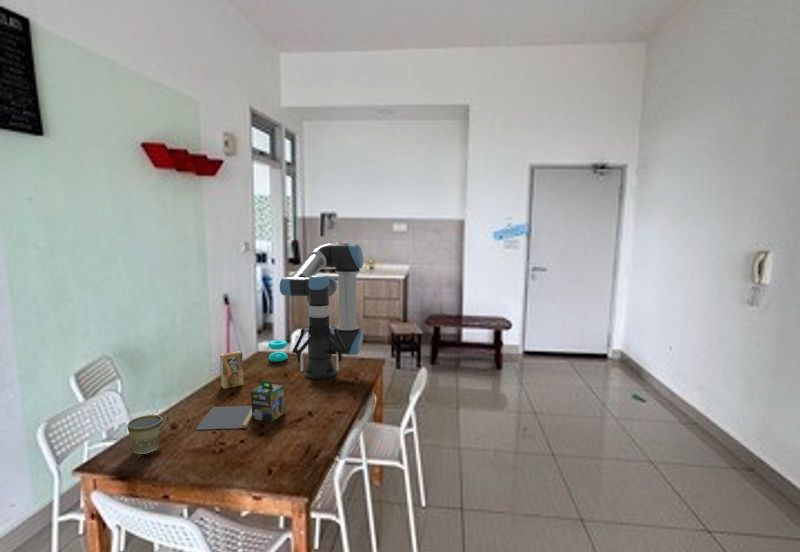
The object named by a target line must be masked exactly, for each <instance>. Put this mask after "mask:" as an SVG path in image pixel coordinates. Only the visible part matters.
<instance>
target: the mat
mask: <svg viewBox="0 0 800 552" xmlns="http://www.w3.org/2000/svg"><path fill="white" fill-rule="evenodd" d="M252 420H253V419H252V405H240V406H239V405H238V406H237V405H236V406H235V405H234V406H233V405H232V406H230V405H229V406H212V408H211V409H210V410H209V412H207V414H206V415H205V416H204V418H203V419H202V420H201V421H200V423H199V424H198V425H197V427H196V428H195V430H196V431H211V430H210V429H223V430H239V428H248V427H249V425H250V423H251V421H252Z"/></svg>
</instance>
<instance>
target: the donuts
mask: <svg viewBox="0 0 800 552" xmlns="http://www.w3.org/2000/svg"><path fill="white" fill-rule="evenodd" d="M267 345H268V348H269V349H270V350H275V352H272V353H270V354H269V355H268V359H269V361H271V362H274V363H279V361H280V362H284V361H286V360H287V359H288V357H289V356H288V354H287V353H286V352H283V351H277V350H283V349H285V348H286V347H287V346H288V341H286V340H282V339H277V340H271V341H270V342H269V343H268V344H267Z"/></svg>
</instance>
